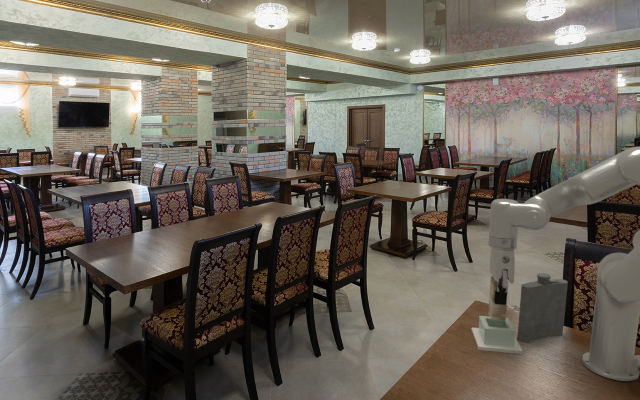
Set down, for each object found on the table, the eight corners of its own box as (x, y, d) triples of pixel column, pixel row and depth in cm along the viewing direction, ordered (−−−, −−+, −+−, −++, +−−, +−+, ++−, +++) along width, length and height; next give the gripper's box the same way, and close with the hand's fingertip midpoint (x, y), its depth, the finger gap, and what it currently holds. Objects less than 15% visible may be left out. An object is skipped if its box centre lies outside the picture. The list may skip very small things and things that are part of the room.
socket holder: (511, 333, 128) (512, 315, 127) (522, 354, 116) (524, 334, 115) (471, 330, 130) (472, 312, 129) (478, 350, 118) (479, 330, 117)
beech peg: (502, 314, 123) (505, 277, 121) (505, 320, 119) (508, 281, 117) (488, 313, 124) (490, 276, 122) (491, 319, 120) (493, 280, 118)
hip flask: (522, 343, 122) (527, 280, 119) (512, 336, 126) (517, 275, 123) (564, 335, 126) (571, 274, 123) (554, 329, 130) (560, 270, 127)
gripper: (524, 250, 109) (519, 314, 112) (509, 234, 125) (504, 291, 128) (495, 249, 110) (490, 312, 113) (483, 233, 126) (479, 289, 130)
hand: (498, 300), depth 121 cm, fingers closed on beech peg, 4 cm apart
